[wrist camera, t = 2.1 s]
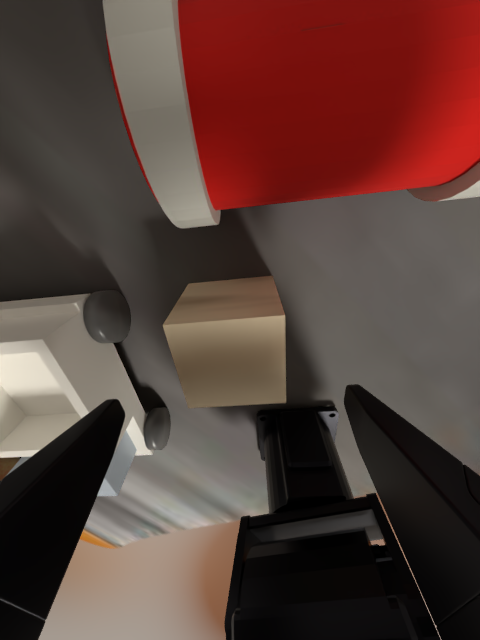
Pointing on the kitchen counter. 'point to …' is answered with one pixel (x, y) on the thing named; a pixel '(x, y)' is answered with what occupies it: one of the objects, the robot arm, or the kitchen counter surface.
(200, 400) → the cream wooden cube
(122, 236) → the kitchen counter surface
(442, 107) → the toy hammer
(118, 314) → the toy truck
